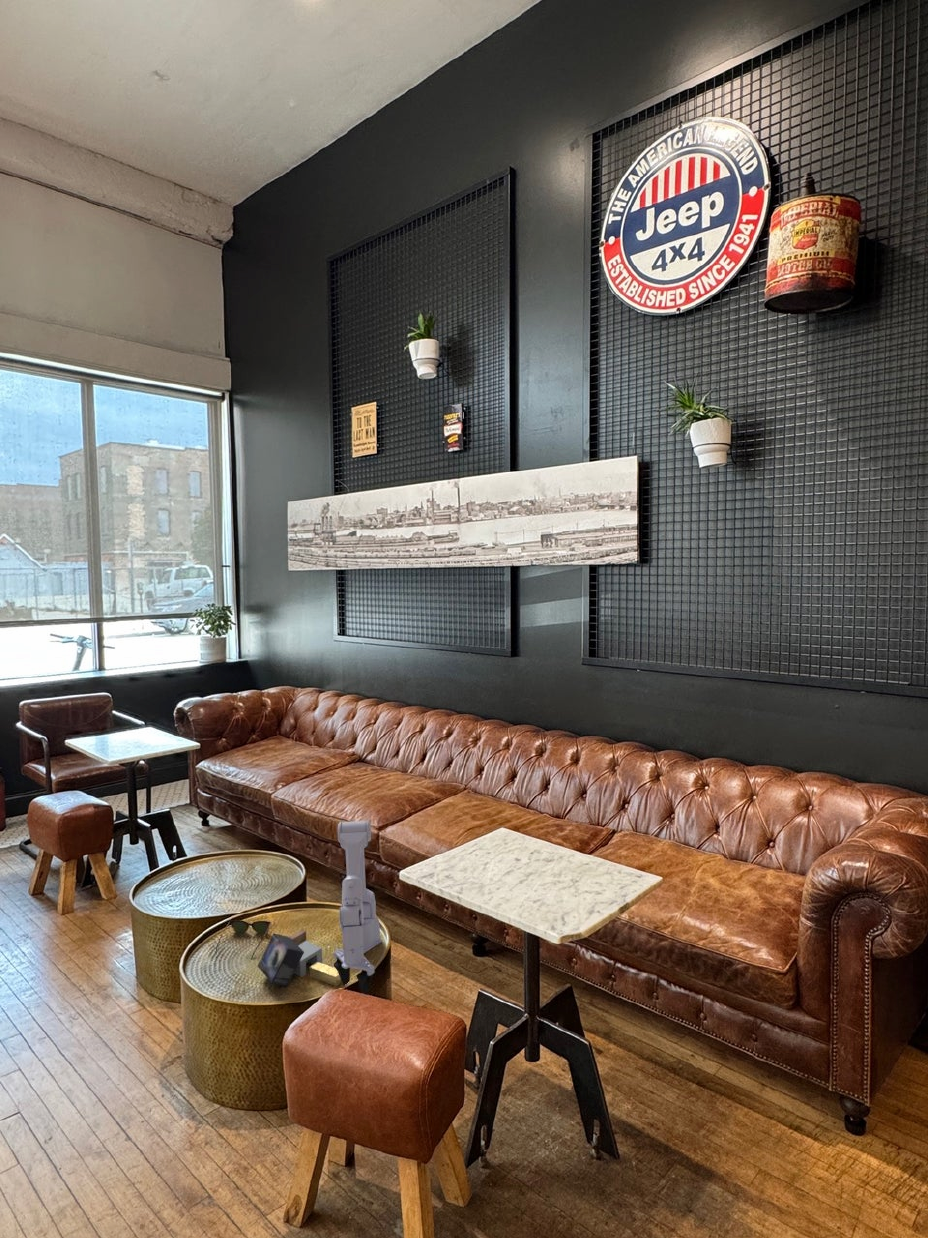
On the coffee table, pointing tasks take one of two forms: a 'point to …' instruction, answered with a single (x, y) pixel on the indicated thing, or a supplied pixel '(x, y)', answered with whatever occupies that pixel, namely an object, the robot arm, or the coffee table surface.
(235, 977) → the coffee table surface
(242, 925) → the sunglasses
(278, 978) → the small box
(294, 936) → the backstop wall
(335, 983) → the yellow rectangular bar
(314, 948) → the socket block
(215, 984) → the coffee table surface
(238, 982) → the coffee table surface
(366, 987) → the robot arm
